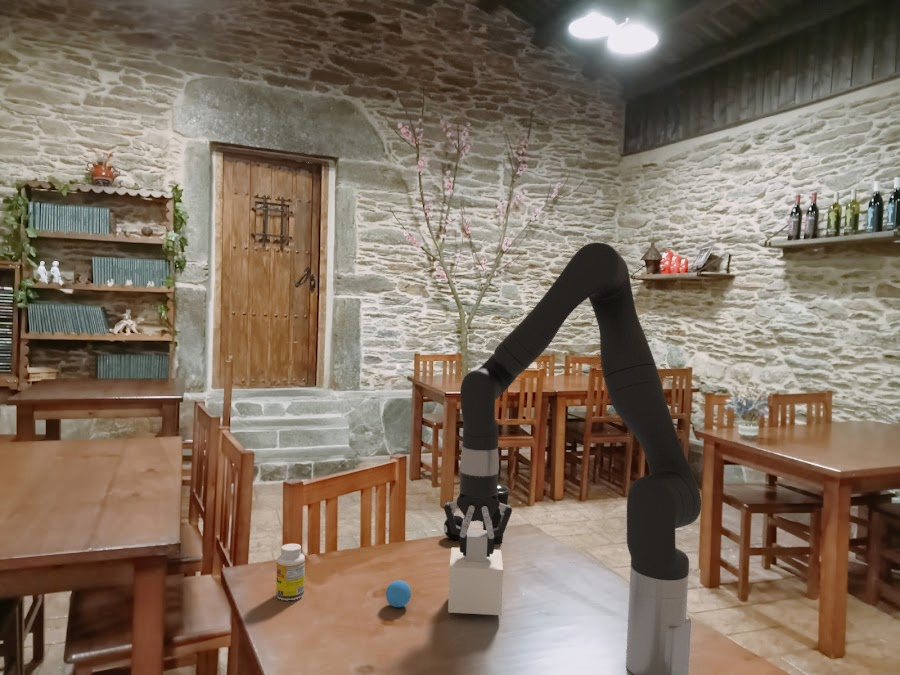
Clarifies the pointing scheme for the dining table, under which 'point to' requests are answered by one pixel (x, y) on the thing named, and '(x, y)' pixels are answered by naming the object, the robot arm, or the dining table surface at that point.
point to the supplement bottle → (290, 572)
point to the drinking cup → (496, 517)
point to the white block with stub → (475, 577)
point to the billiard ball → (448, 532)
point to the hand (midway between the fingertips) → (476, 554)
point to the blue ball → (398, 593)
